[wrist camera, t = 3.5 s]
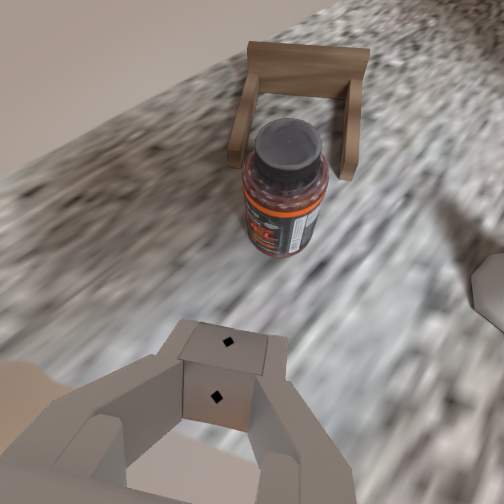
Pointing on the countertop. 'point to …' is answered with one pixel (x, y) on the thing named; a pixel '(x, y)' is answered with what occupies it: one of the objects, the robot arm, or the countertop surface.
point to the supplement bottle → (284, 186)
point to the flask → (490, 289)
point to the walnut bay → (303, 89)
